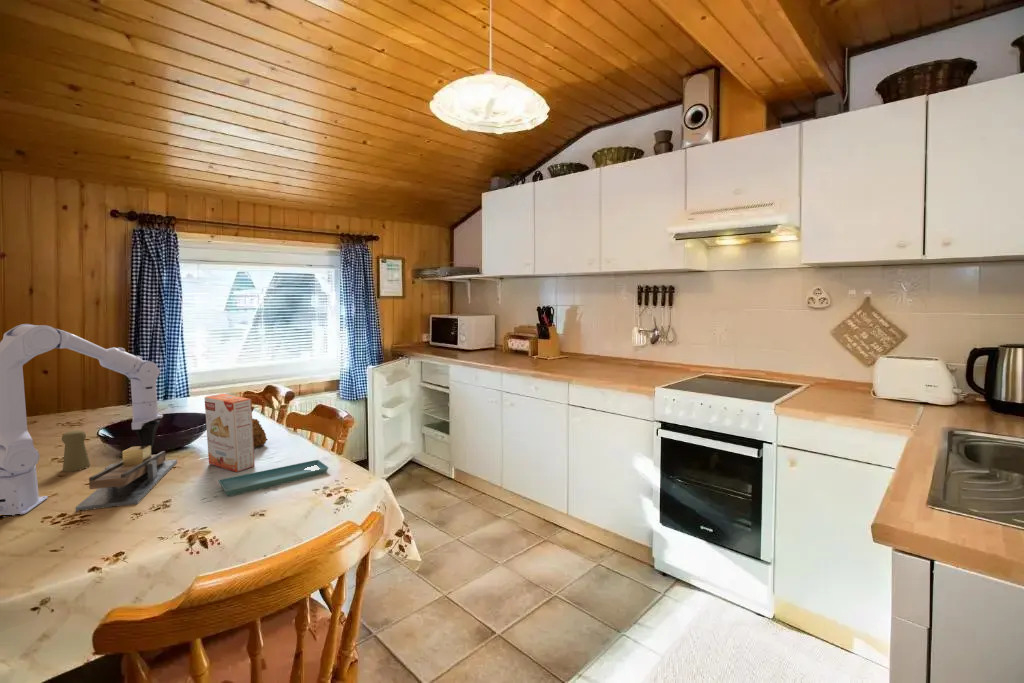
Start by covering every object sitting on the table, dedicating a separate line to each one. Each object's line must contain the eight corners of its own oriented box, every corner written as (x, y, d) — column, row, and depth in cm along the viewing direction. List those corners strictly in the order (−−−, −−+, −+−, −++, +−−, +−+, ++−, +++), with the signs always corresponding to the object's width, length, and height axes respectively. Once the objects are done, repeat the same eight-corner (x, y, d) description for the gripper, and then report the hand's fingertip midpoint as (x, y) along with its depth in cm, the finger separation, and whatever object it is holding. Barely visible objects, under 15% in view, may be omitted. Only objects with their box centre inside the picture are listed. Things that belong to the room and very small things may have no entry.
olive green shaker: (73, 472, 136) (70, 435, 134) (56, 470, 137) (53, 433, 136) (95, 465, 141) (92, 429, 140) (79, 463, 143) (76, 427, 141)
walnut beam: (125, 485, 116) (124, 474, 116) (89, 489, 113) (89, 477, 113) (165, 460, 142) (165, 451, 142) (137, 463, 140) (136, 453, 140)
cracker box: (207, 464, 143) (203, 396, 140) (227, 458, 148) (223, 392, 146) (235, 473, 136) (231, 401, 134) (255, 466, 141) (252, 397, 139)
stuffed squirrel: (251, 438, 168) (249, 402, 167) (277, 444, 162) (275, 407, 160) (223, 446, 160) (220, 408, 158) (248, 453, 153) (246, 413, 152)
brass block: (142, 464, 129) (142, 449, 129) (122, 466, 128) (122, 451, 128) (151, 459, 135) (150, 445, 135) (132, 461, 133) (131, 446, 133)
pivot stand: (137, 504, 116) (135, 482, 115) (75, 511, 112) (73, 488, 111) (176, 462, 144) (175, 445, 144) (128, 467, 140) (127, 449, 139)
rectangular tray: (318, 465, 144) (317, 457, 144) (329, 474, 137) (329, 466, 137) (218, 488, 127) (217, 479, 126) (225, 500, 120) (224, 490, 120)
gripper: (151, 406, 132) (155, 453, 133) (169, 395, 145) (172, 438, 147) (120, 407, 129) (124, 456, 131) (141, 396, 143) (145, 440, 144)
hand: (148, 447), depth 139 cm, fingers closed
